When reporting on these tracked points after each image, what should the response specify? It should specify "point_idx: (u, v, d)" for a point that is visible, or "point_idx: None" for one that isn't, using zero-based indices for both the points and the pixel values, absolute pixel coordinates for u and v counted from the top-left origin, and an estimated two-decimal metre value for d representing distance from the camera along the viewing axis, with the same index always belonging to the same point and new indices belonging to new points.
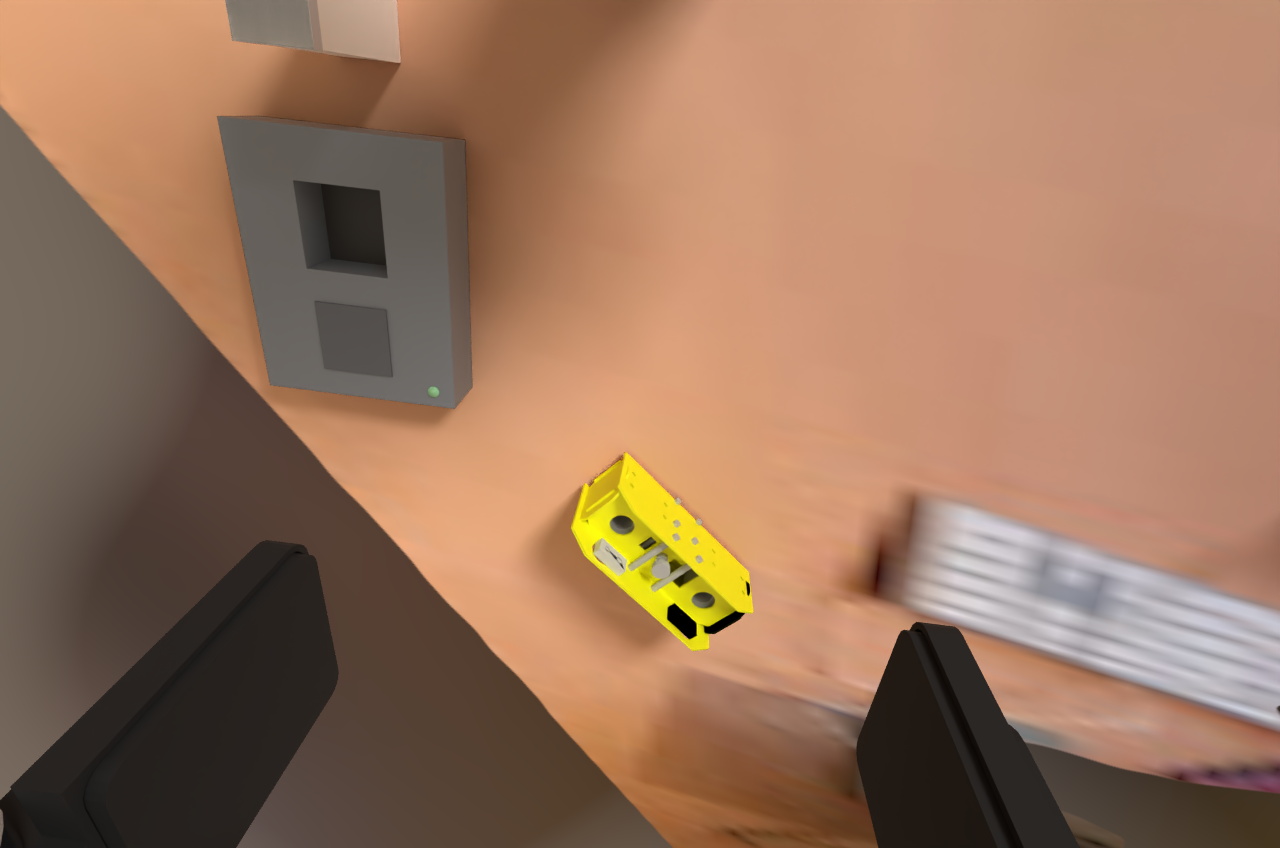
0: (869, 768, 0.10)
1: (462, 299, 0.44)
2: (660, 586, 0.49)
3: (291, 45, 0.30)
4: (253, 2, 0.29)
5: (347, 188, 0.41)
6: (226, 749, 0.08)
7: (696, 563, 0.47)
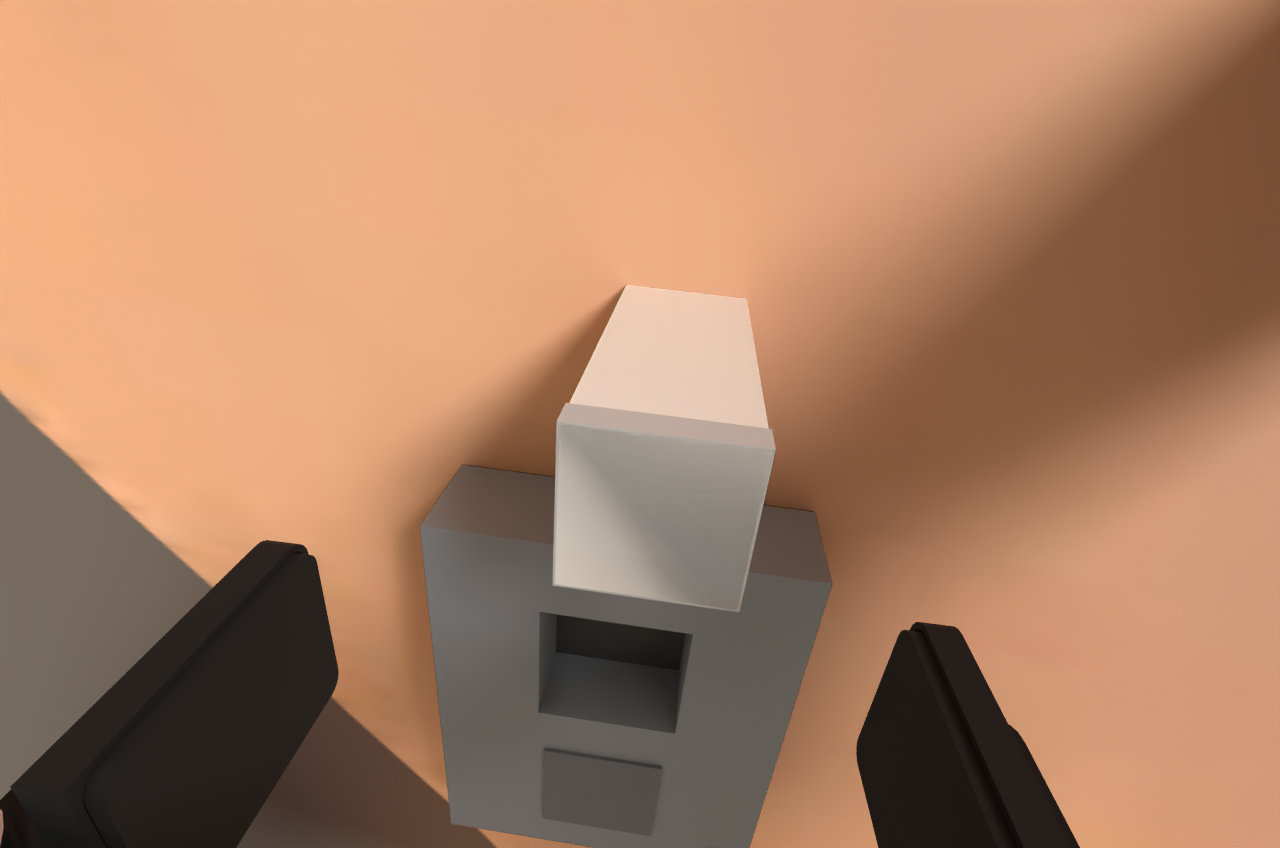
0: (869, 768, 0.10)
1: None
2: None
3: (687, 602, 0.13)
4: (620, 532, 0.12)
5: None
6: (226, 749, 0.08)
7: None
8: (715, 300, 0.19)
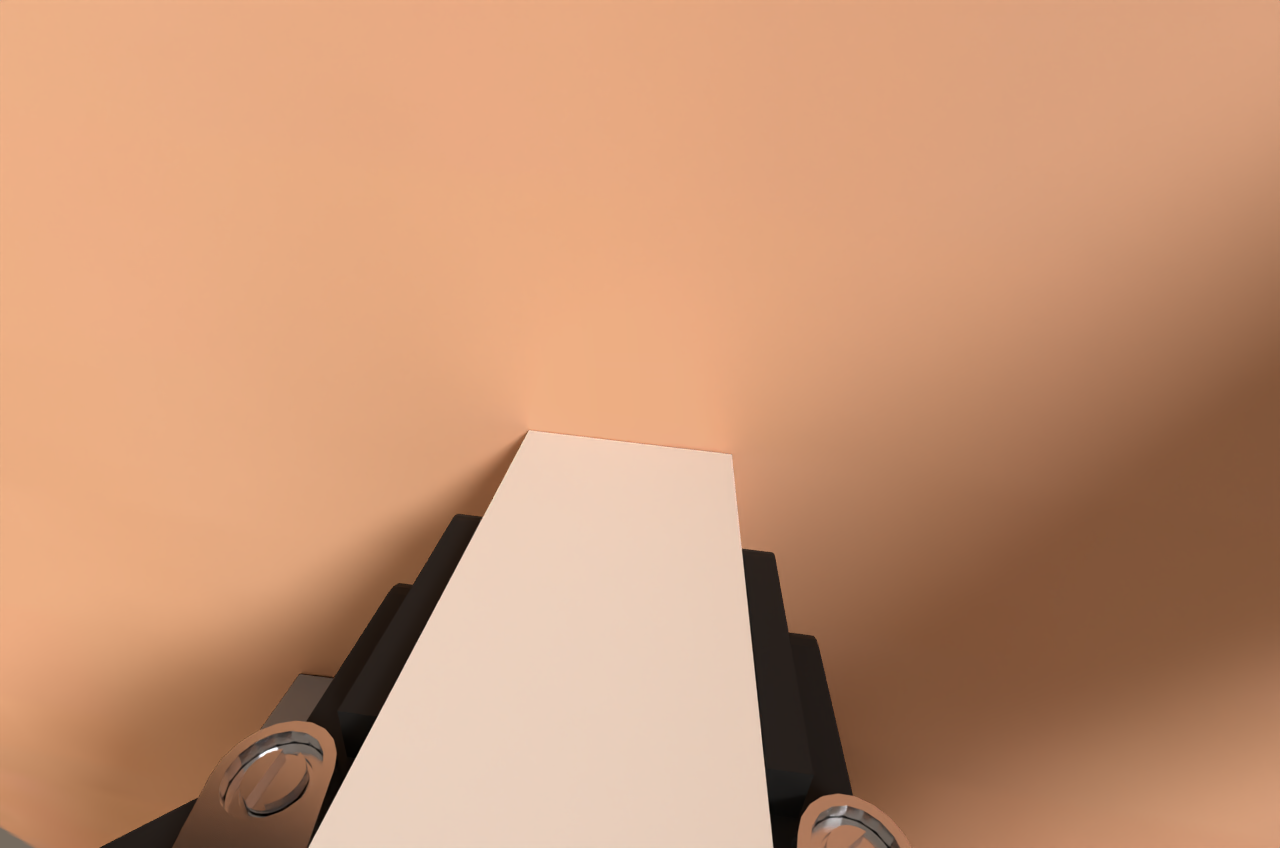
0: None
1: None
2: None
3: None
4: None
5: None
6: None
7: None
8: (677, 464, 0.11)
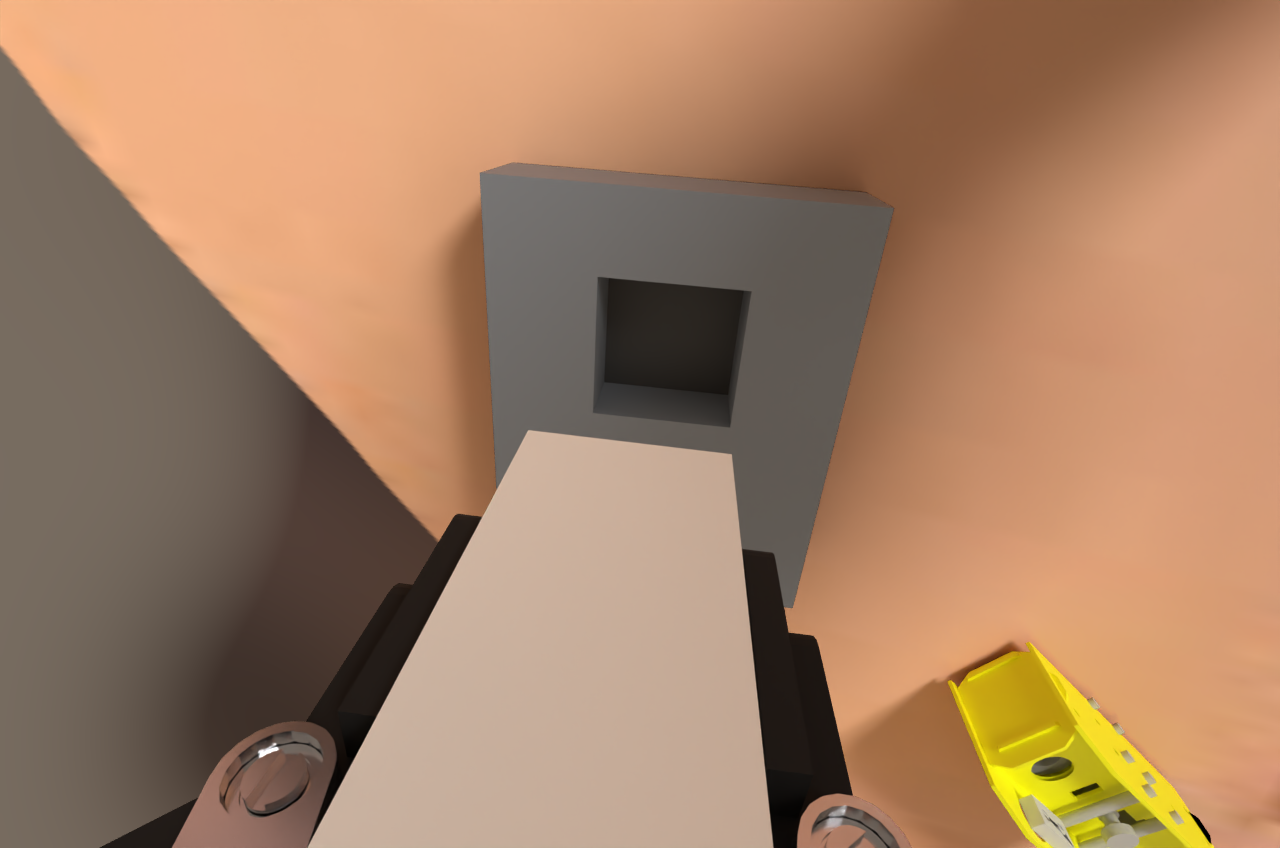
0: None
1: None
2: None
3: None
4: None
5: None
6: None
7: (1179, 828, 0.30)
8: (677, 465, 0.11)
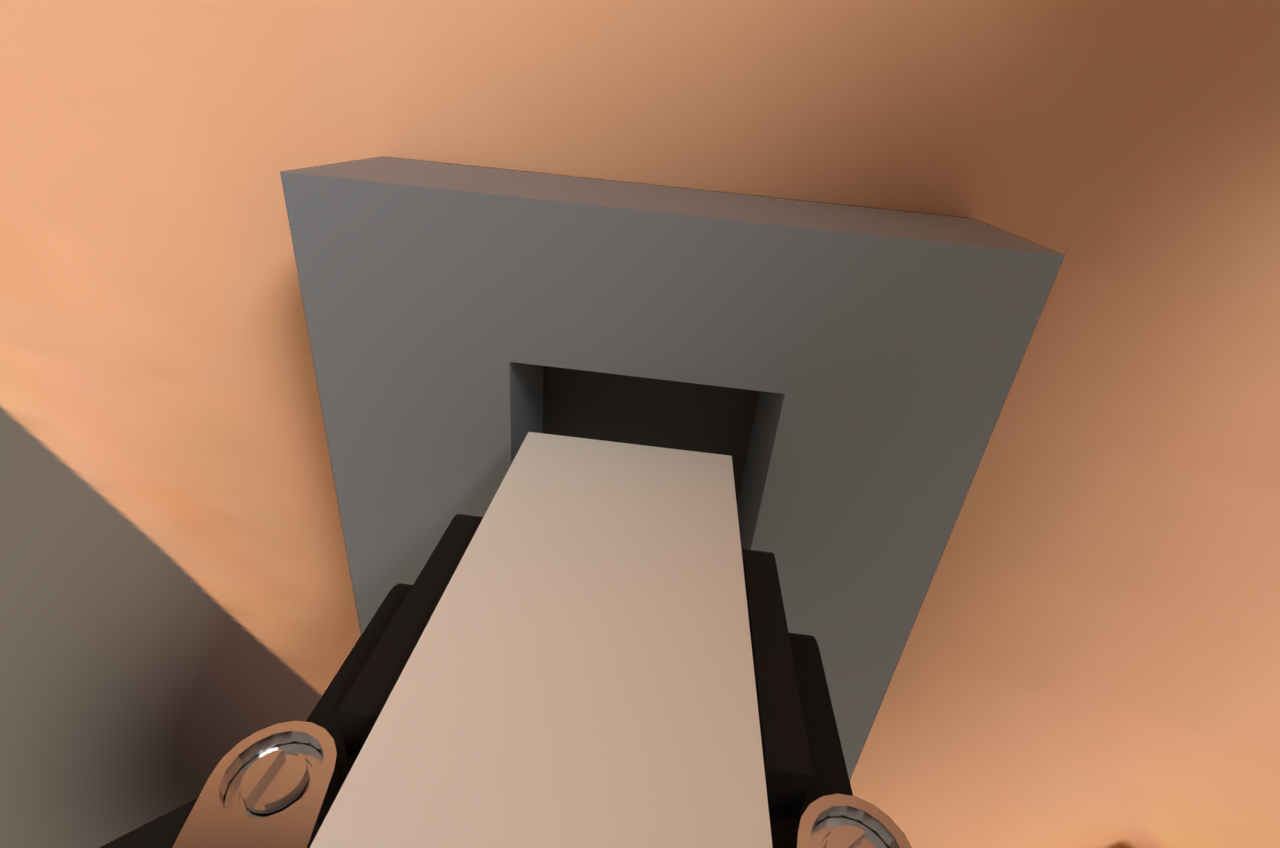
0: None
1: None
2: None
3: None
4: None
5: None
6: None
7: None
8: (677, 466, 0.11)
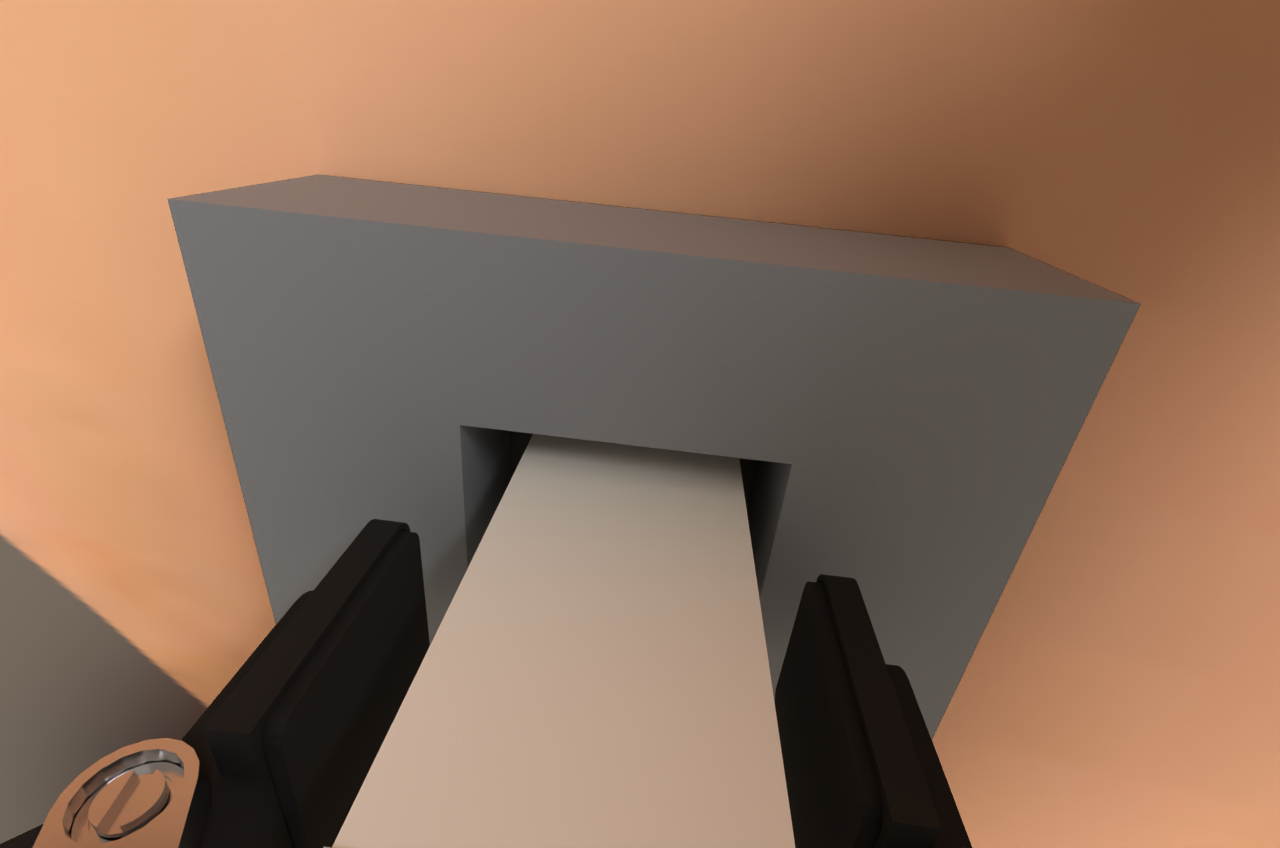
0: (781, 713, 0.10)
1: None
2: None
3: None
4: None
5: None
6: (356, 707, 0.08)
7: None
8: None
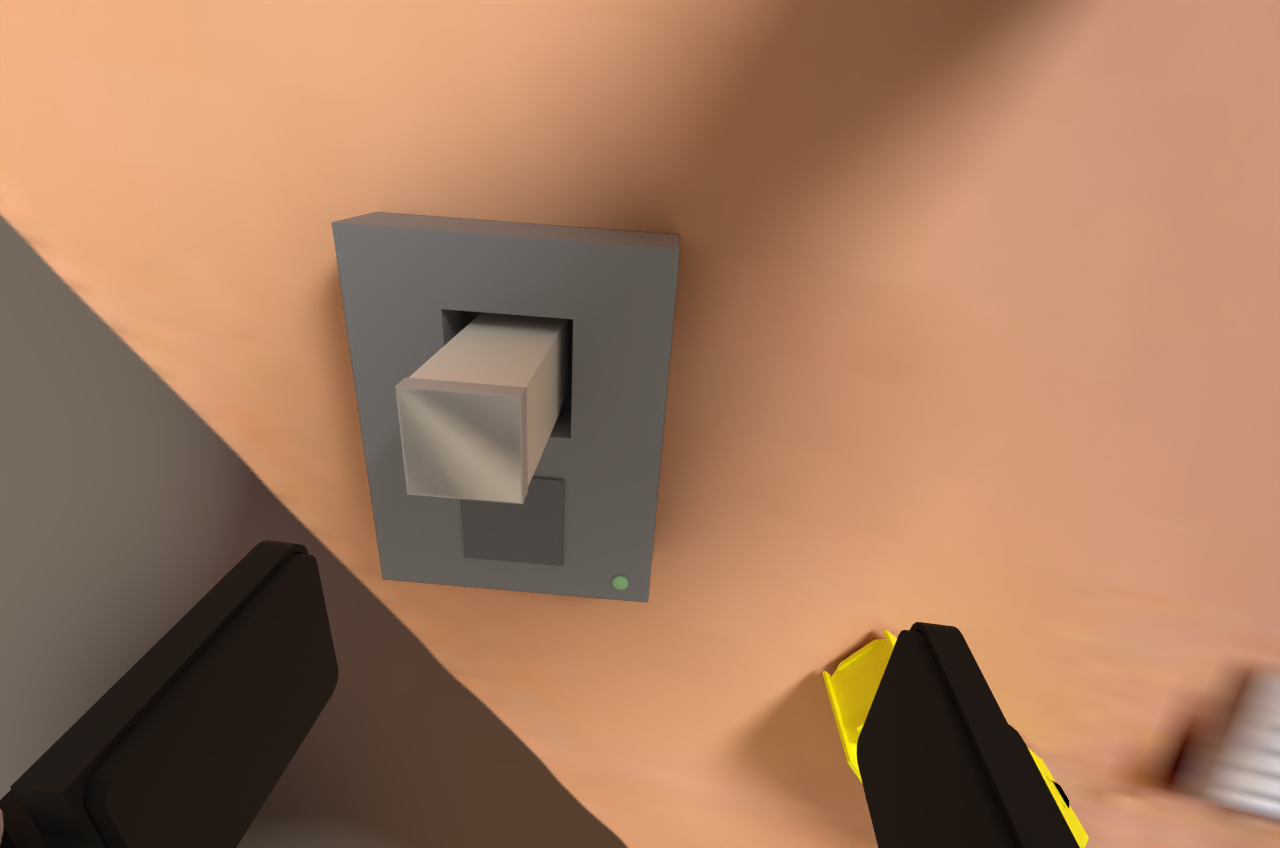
0: (869, 768, 0.10)
1: None
2: None
3: (491, 499, 0.21)
4: (443, 455, 0.21)
5: None
6: (226, 749, 0.08)
7: None
8: (544, 318, 0.28)
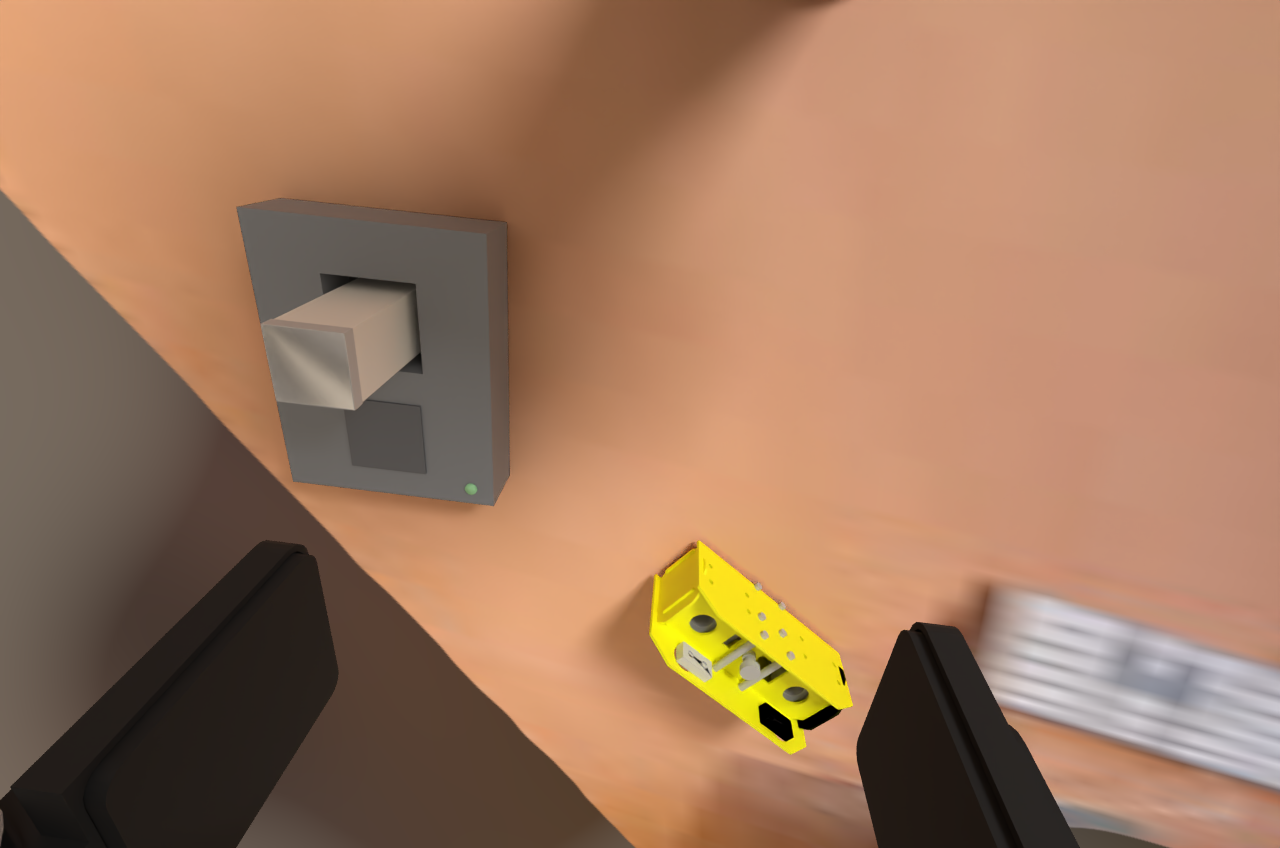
0: (869, 768, 0.10)
1: (502, 389, 0.40)
2: (749, 685, 0.45)
3: (333, 406, 0.31)
4: (297, 373, 0.30)
5: None
6: (226, 749, 0.08)
7: (788, 661, 0.43)
8: (405, 283, 0.37)
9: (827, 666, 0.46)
